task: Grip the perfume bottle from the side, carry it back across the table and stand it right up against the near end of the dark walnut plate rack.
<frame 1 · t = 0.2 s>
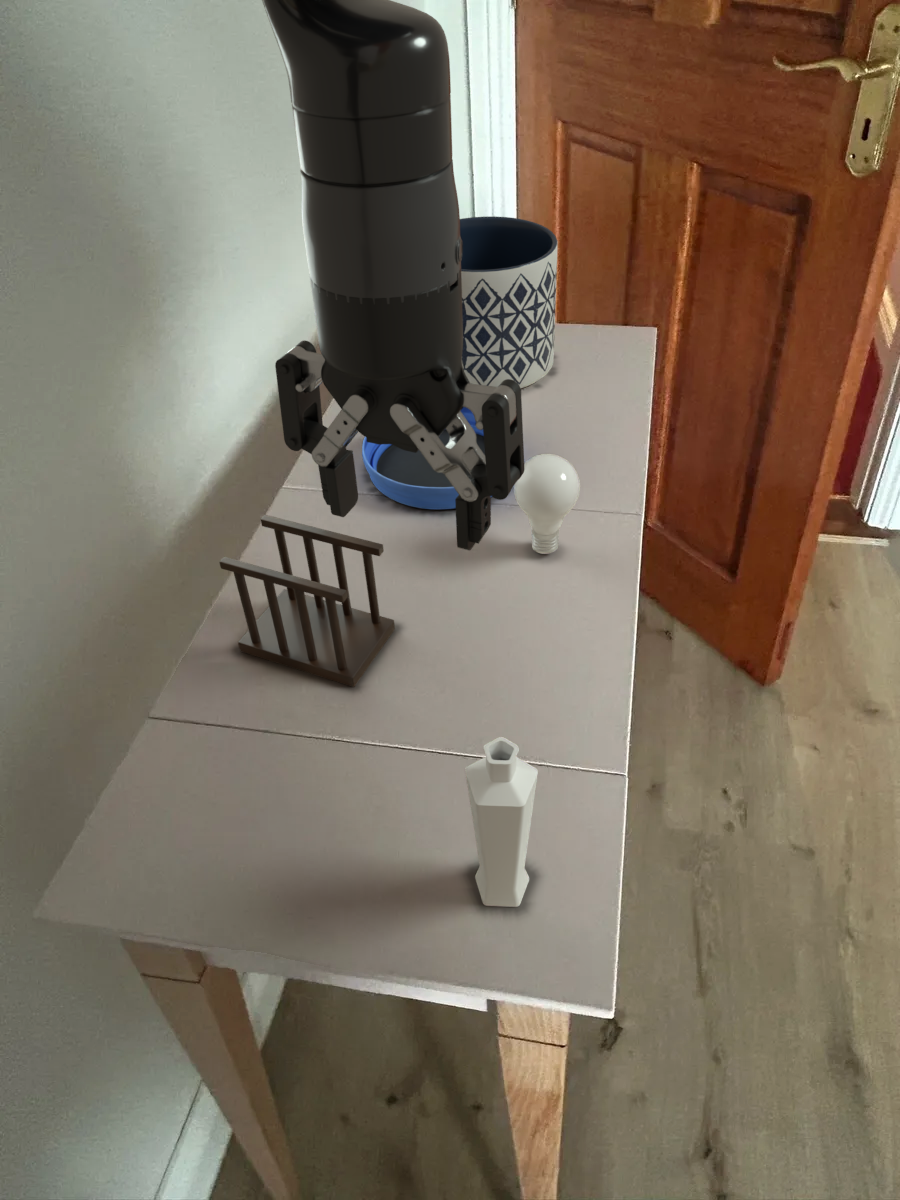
hand: (406, 525, 56), 25 cm above the table, tool pointing down, fingers open, 8 cm apart
lightbulb: (544, 552, 93), on the table
bowl: (443, 469, 105), on the table
perfume bottle: (500, 887, 65), on the table
plate rack: (318, 640, 84), on the table
planter: (486, 365, 123), on the table
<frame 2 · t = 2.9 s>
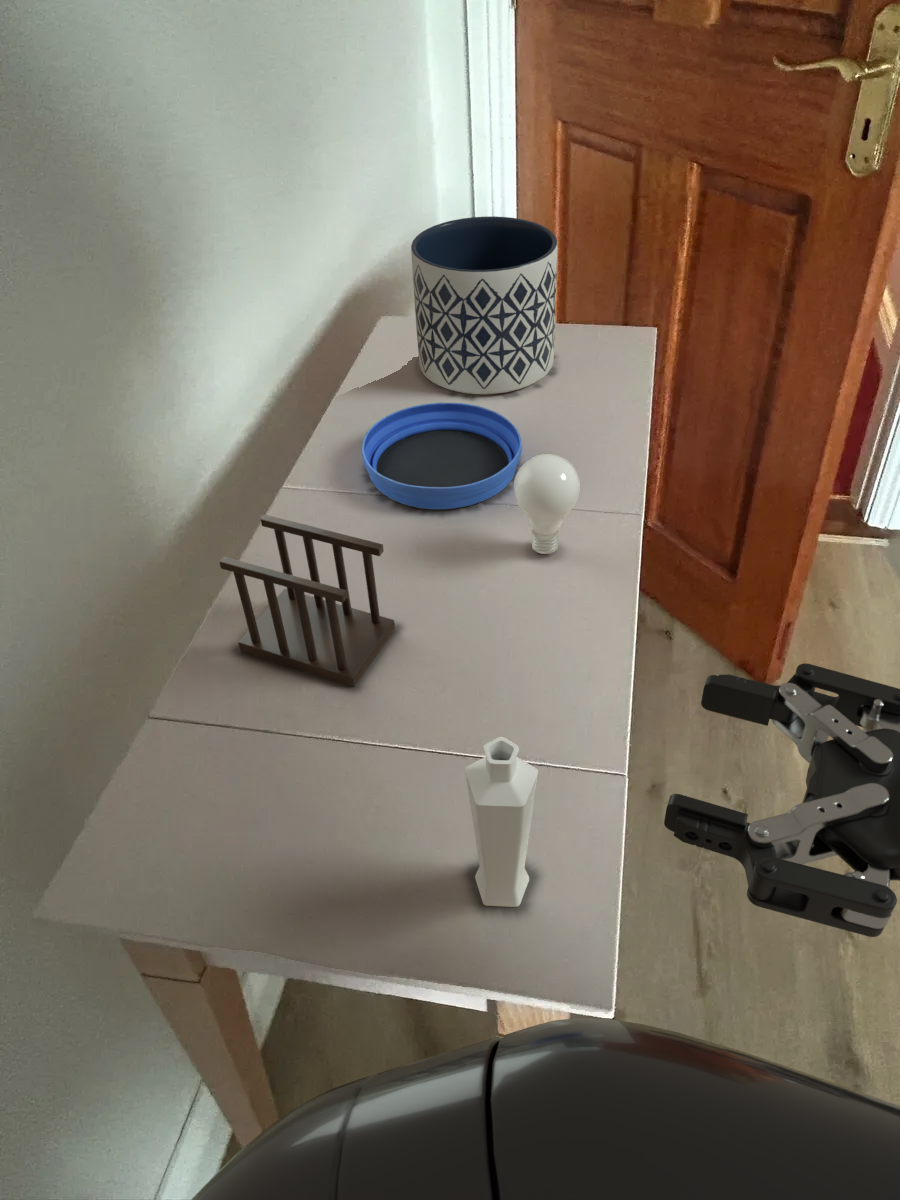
hand: (686, 747, 48), 20 cm above the table, tool horizontal, fingers open, 8 cm apart
nothing on the table moved.
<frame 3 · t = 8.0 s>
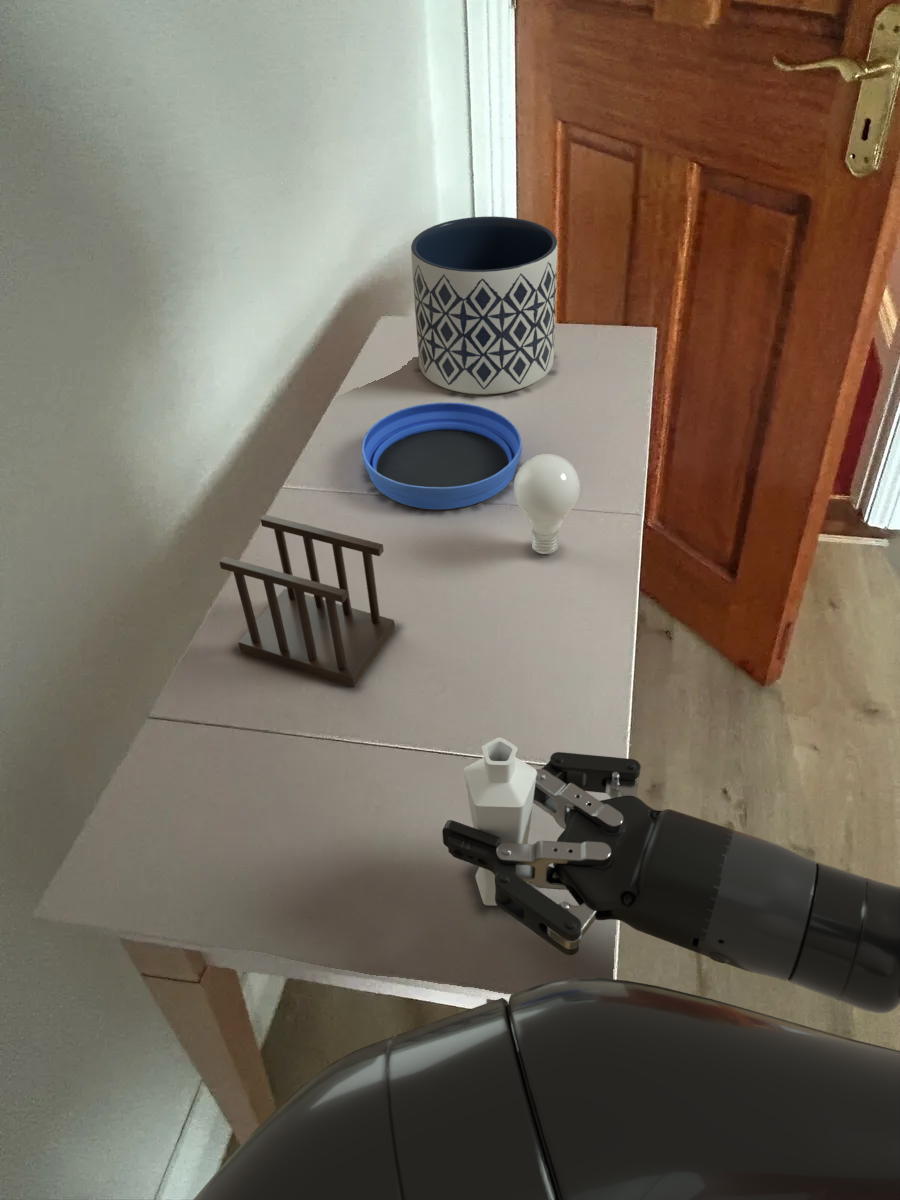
hand: (462, 801, 60), 9 cm above the table, tool horizontal, fingers closed on perfume bottle, 4 cm apart
perfume bottle: (500, 887, 65), on the table, touching gripper
everything else where it was.
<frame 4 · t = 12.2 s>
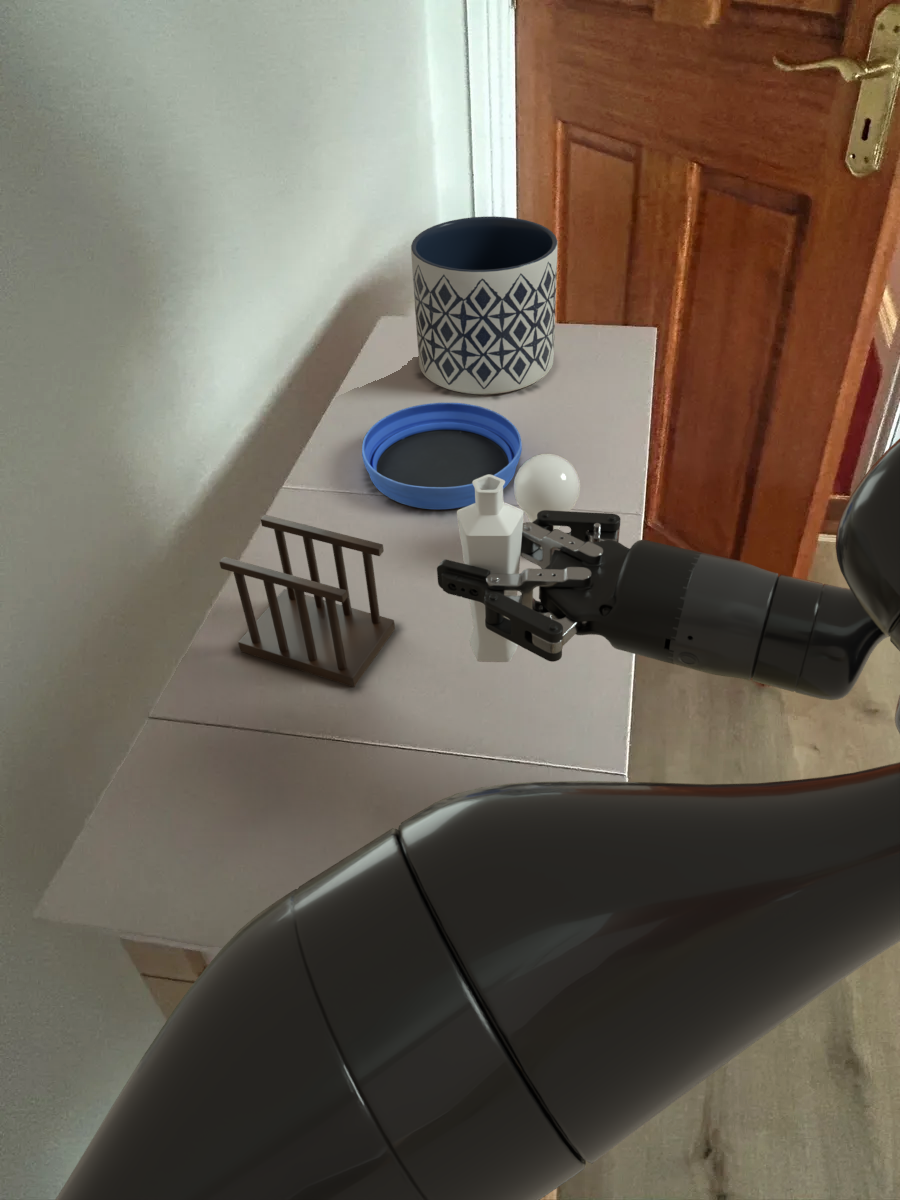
hand: (456, 552, 65), 18 cm above the table, tool horizontal, fingers closed on perfume bottle, 4 cm apart
perfume bottle: (492, 649, 70), point 9 cm above the table, touching gripper
everything else where it was.
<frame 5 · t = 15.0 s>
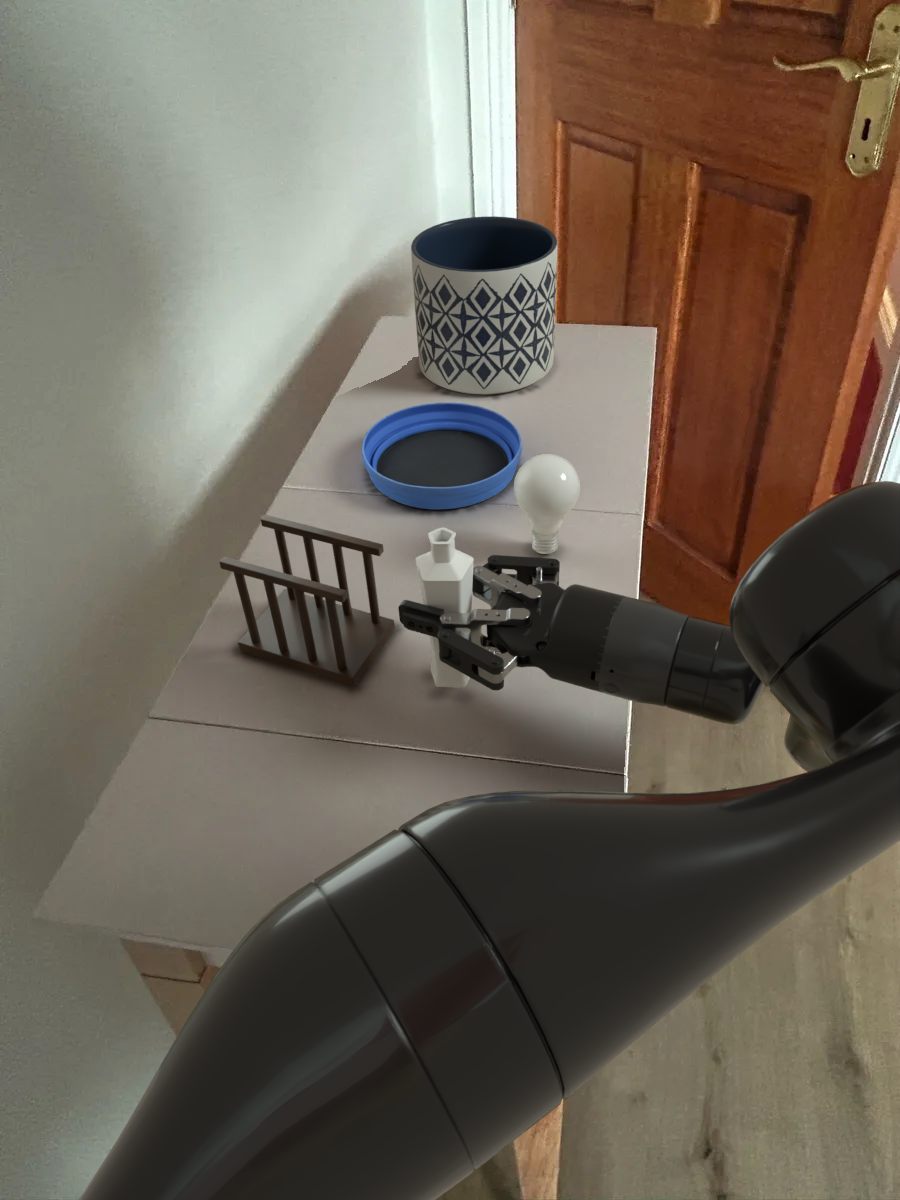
hand: (416, 592, 74), 9 cm above the table, tool horizontal, fingers closed on perfume bottle, 4 cm apart
perfume bottle: (450, 675, 79), point 1 cm above the table, touching gripper
everything else where it was.
when the fingers open (9 cm above the table, at t = 16.8 s): perfume bottle stays where it is, on the table.
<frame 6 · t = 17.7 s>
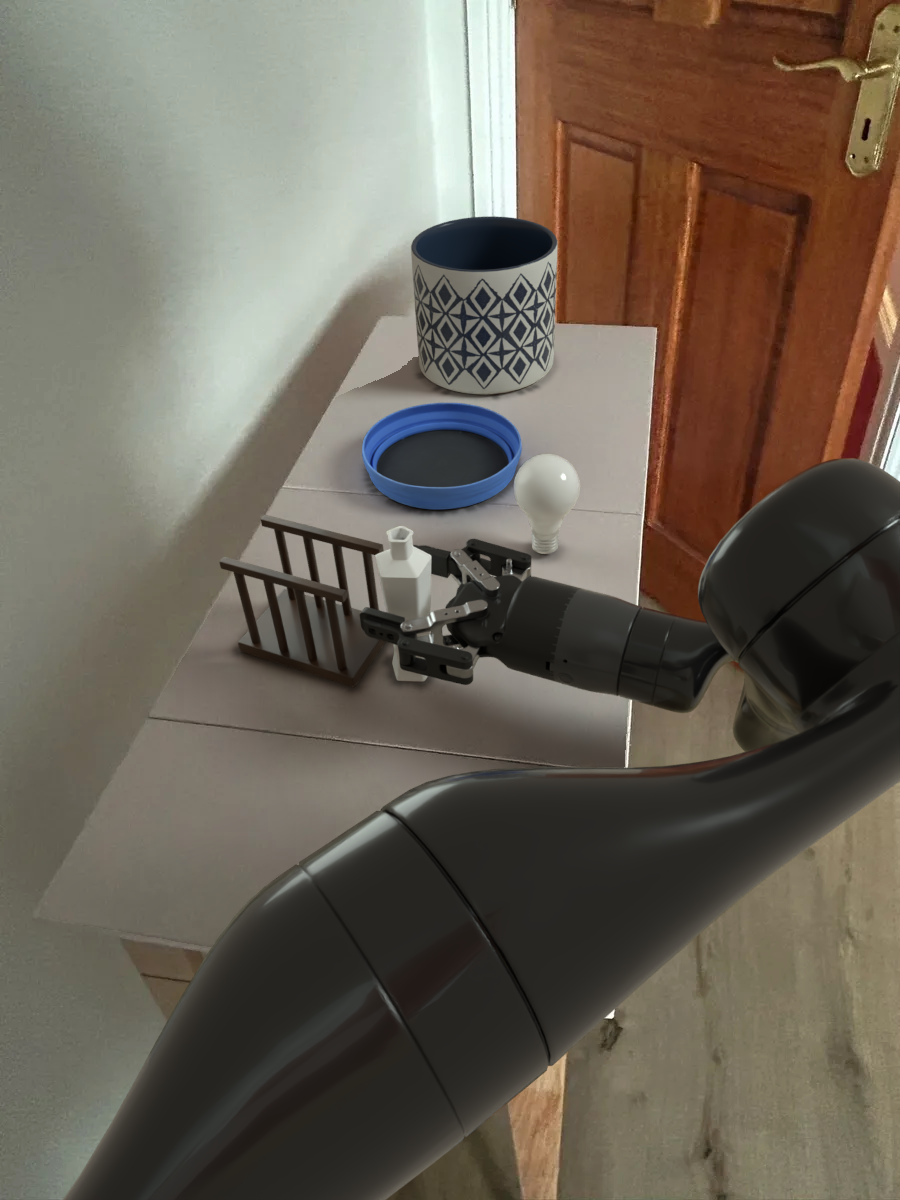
hand: (386, 586, 76), 9 cm above the table, tool horizontal, fingers open, 8 cm apart
perfume bottle: (411, 670, 81), on the table
everything else where it was.
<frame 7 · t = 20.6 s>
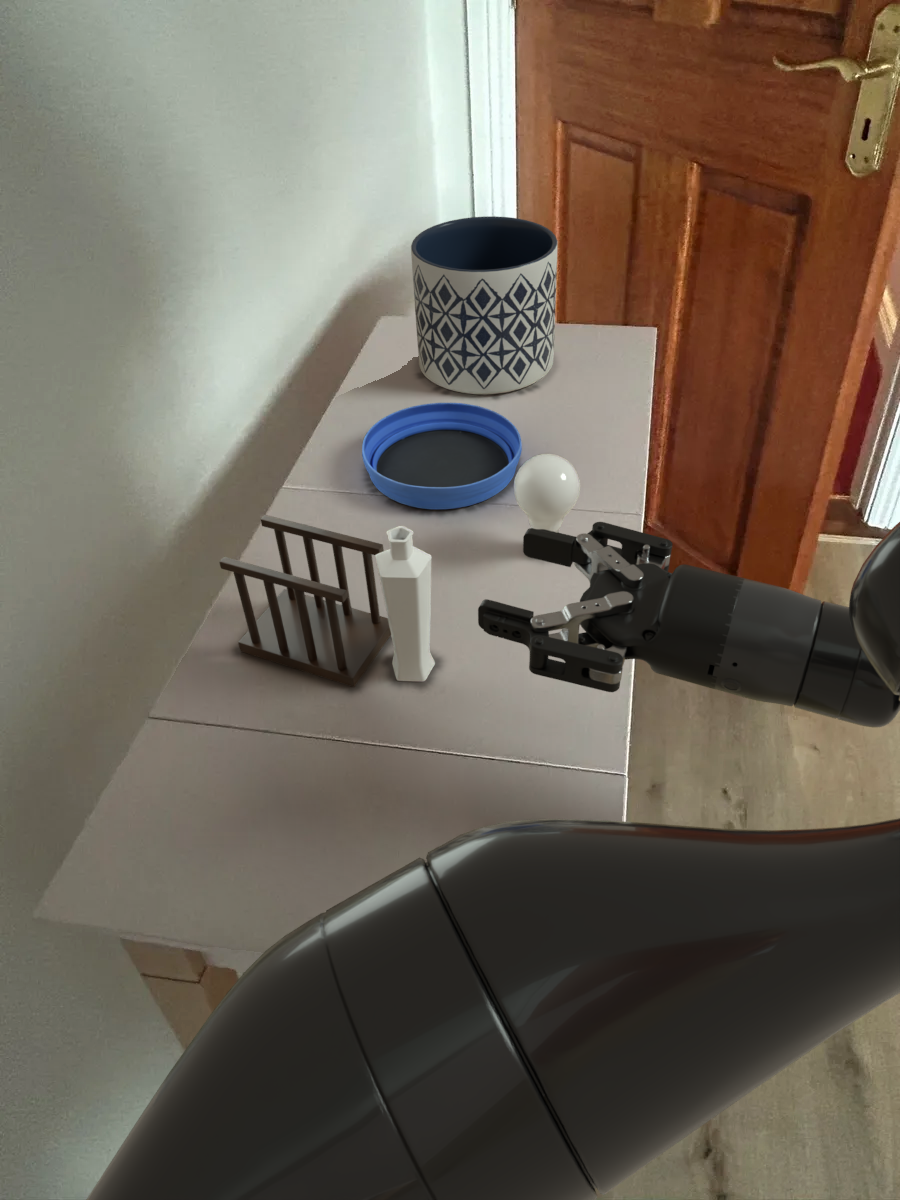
hand: (503, 575, 65), 17 cm above the table, tool horizontal, fingers open, 8 cm apart
nothing on the table moved.
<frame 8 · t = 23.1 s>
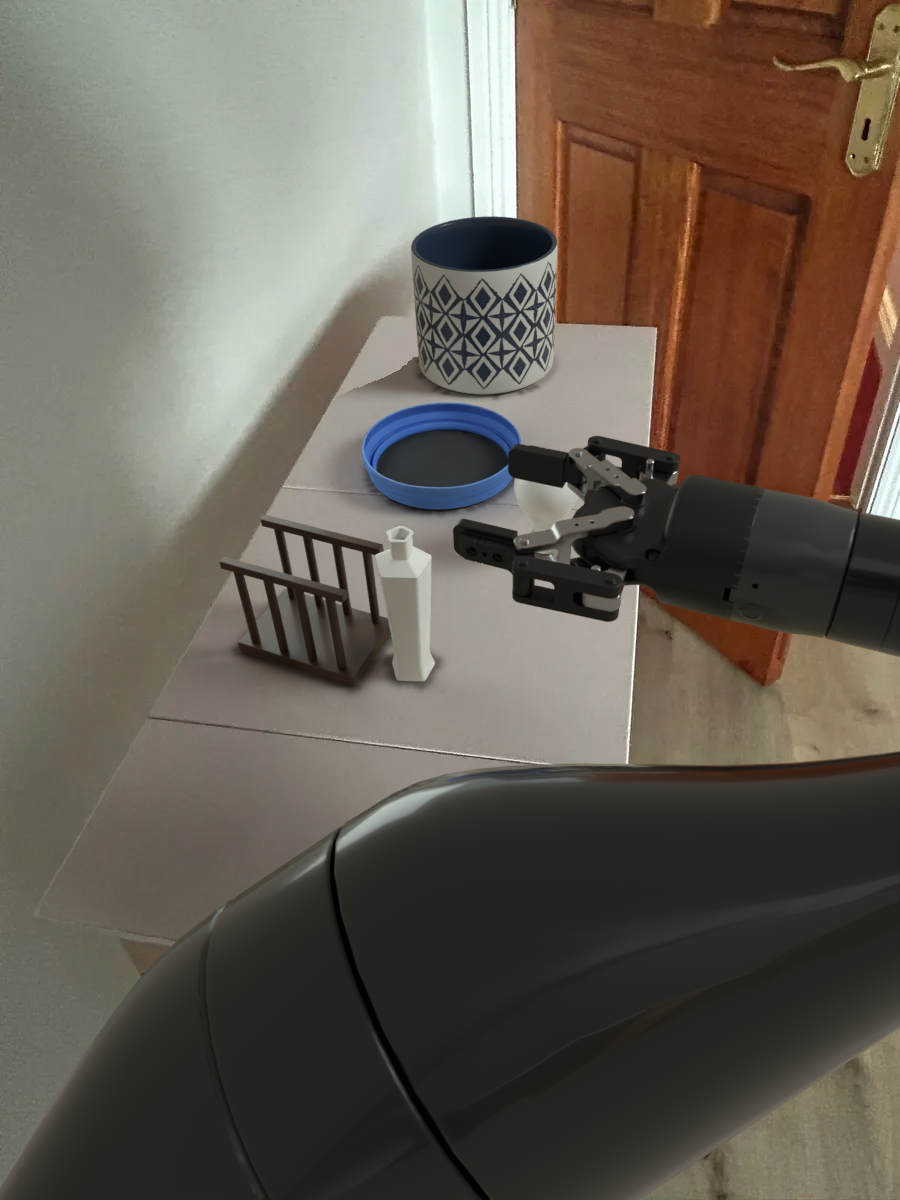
hand: (484, 495, 56), 26 cm above the table, tool horizontal, fingers open, 8 cm apart
nothing on the table moved.
at the end: perfume bottle inside the target area on the table beside the plate rack (0.6 cm from its centre), on the table; perfume bottle tilted 0°; the gripper is holding nothing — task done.
